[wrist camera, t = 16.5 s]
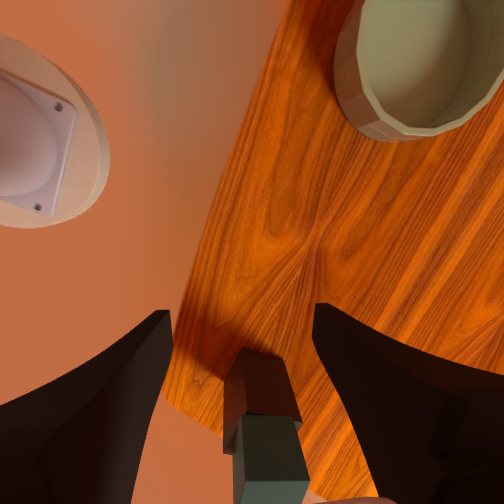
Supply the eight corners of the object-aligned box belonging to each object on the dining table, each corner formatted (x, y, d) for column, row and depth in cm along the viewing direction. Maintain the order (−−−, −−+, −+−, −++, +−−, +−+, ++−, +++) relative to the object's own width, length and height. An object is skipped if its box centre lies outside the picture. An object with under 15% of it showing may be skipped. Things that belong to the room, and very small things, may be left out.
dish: (307, 101, 18) (325, 85, 15) (385, -70, 15) (428, -137, 12) (414, 165, 21) (450, 162, 17) (497, 25, 18) (559, -9, 15)
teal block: (232, 452, 19) (233, 524, 15) (240, 413, 18) (244, 481, 14) (281, 452, 20) (295, 522, 16) (292, 415, 19) (311, 481, 15)
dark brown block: (223, 382, 26) (222, 453, 19) (241, 346, 25) (247, 409, 18) (264, 392, 27) (276, 464, 20) (283, 359, 26) (303, 423, 19)
